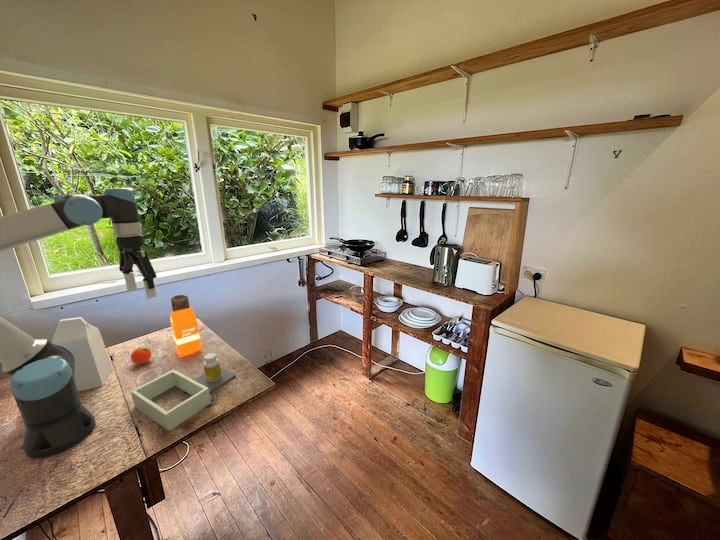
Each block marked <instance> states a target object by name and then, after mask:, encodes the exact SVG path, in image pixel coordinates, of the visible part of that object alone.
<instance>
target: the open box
mask: <svg viewBox="0 0 720 540" xmlns="http://www.w3.org/2000/svg"><path fill="white" fill-rule="evenodd" d="M194 380H195V379H192V378H190V377H188V376H187V375H184V374H183V373H181V372H179V371H178V370H176V369H171V370H170V371H168V372H166V373H164V374H162V375H161V376H158V377H156V378H155V379H152V380H150V381H149V382H147V383H144V384H143V385H141V386H139V387H137V388H135V389H132V390H130V393H131V398H132V403H133V405H134V407H135V408H136V409H137V410H139V411H140V412H141V413H143V414H145V416H147V417H149V418H150V419H151V420H153V421H155V422H156V423H157V424H158V425H160V426H161V427H162V428H164V429H166V430H167V431H168V432H170V431H171V430H173V429H174V428H176V427H178V426H179V425H180V424H182V423H183V422H185V421H186V420H188V419H190V418H191V417H193V416H194V415H195V414H197V413H198V412H200V411H201V410H203V409H205V408H206V407H207V406H209V405H210V404H211V403H212V401H211V400H212V399H211V394H210V393H209V388H207V387H205V386H204V385H202V384H200V383H198V382H196V381H194ZM173 387H177V388H178V389H180V390H182V391H184V392H186V393H187V394H189V395H190V397H189V398H187V399H185V400H184V401H182V402H180V403H178V404H177V405H176V406H174V407H172V408H170V409H169V410H166V409H164V408H162V407H161V406H159V405H158V404H156V403H155V402H154V401H152V399H153V398H156V397H157V396H159V395H161V394H162V393H163V394H164V393H165V392H167V391H168V390H170V389H171V388H173Z"/></svg>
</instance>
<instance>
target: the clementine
mask: <svg viewBox="0 0 720 540" xmlns="http://www.w3.org/2000/svg"><path fill="white" fill-rule="evenodd" d="M151 351H153V349H152V348H149V347H148V346H147V347H146V346H145V347H144V346H140V347H137V348H135V349H134V350H133V351H132V352H131V355H130V358H131V361H132V363H133V364H136V365H143V364H146V363H147V362H149V360H151V358H152V352H151Z"/></svg>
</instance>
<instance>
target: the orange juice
mask: <svg viewBox="0 0 720 540" xmlns="http://www.w3.org/2000/svg"><path fill="white" fill-rule="evenodd" d="M169 315H170V317H169V318H170V320H169V321H170V327H171V331H172V338H173V341H174V347H175V351H176V354H177V355H178V357H179V358H182V357H187V356H189V355H192V354H195V353H197V351H198V352H200V351H199V350H201V351H202V345H201V336H200V333H199V328H198V327H199V326H198V321H197V318H196V317H197V316H196V315H195V312H194V308H193V307H190V308H187V309H183V310H179V311H175V312H173V311H171V312H169ZM194 352H195V353H194Z"/></svg>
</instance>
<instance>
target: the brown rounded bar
mask: <svg viewBox="0 0 720 540" xmlns="http://www.w3.org/2000/svg"><path fill="white" fill-rule="evenodd" d="M189 301H190V300H189V297H188V296H187V295H185V294H180V295H179V294H177V295H174V296H172V297H171V298H170V302H171V308H172V312H175V311H179V310H183V309H187V308H191V307H190V302H189Z"/></svg>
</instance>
